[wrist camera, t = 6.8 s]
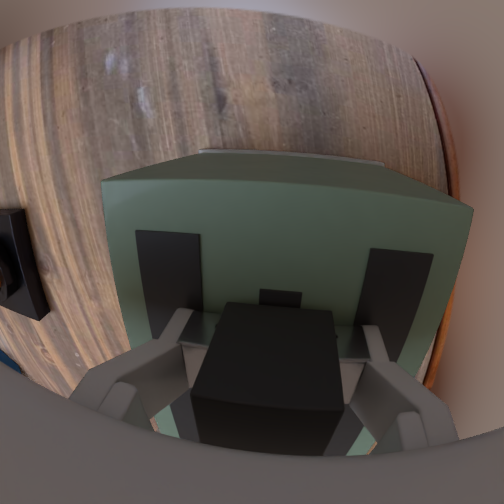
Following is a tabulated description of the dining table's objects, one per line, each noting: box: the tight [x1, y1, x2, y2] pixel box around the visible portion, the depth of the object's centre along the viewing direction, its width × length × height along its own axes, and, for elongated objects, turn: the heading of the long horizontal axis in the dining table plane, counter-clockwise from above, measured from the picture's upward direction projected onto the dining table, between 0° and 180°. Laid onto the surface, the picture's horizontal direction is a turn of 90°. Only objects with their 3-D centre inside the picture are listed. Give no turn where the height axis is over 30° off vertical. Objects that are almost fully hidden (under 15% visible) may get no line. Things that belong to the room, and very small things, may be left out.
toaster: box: [101, 149, 474, 456], centre depth 15 cm, size 16×11×11 cm
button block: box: [0, 209, 50, 321], centre depth 23 cm, size 12×10×4 cm
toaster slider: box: [190, 302, 345, 456], centre depth 7 cm, size 2×3×4 cm
